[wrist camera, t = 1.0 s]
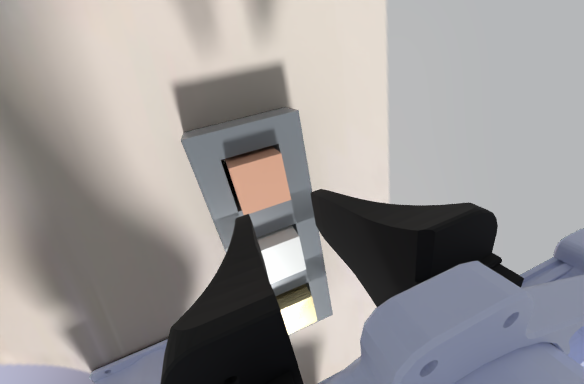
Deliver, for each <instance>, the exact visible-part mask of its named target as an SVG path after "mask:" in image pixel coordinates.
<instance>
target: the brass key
mask: <svg viewBox="0 0 584 384" xmlns="http://www.w3.org/2000/svg"><path fill="white" fill-rule="evenodd" d="M276 299H277V302H278V304H279V307H280V310H281V313H282V316H283V319H284V323H285V326H286V329H287V332H288V335H289V334H291V333H293V332H295V331H297V330H299V329H301V328H304V327H306V326H308V325H310V324H312V323H314V322H316V321H317V317H316V312H315V307H314V303H313V298H312V295H311V293H310V291H309V290H308V288H307V286H306V284H303V285H301V286H299V287H296V288H294V289H292V290H289V291H287V292H285V293H282V294H280V295H278V296H276Z"/></svg>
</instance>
